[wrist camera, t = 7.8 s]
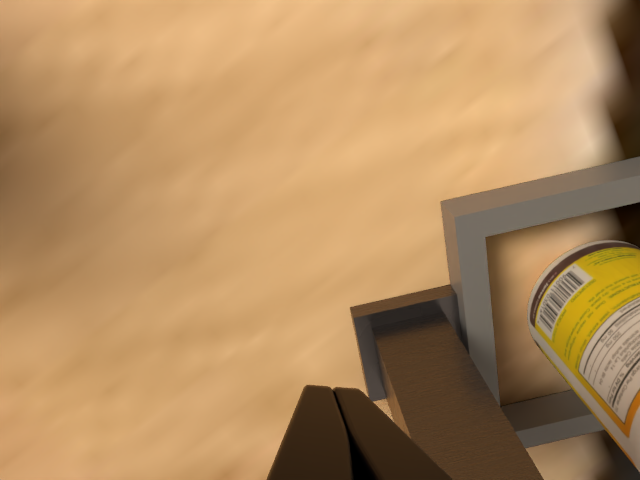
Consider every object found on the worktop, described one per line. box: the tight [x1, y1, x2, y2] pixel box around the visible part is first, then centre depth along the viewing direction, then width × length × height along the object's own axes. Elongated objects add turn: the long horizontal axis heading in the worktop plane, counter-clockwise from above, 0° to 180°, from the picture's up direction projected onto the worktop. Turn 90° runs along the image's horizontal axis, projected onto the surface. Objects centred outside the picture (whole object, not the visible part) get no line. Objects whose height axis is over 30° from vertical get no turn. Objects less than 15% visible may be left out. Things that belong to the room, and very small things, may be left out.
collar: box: [441, 157, 640, 448], centre depth 23 cm, size 11×11×2 cm
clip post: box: [350, 285, 544, 480], centre depth 19 cm, size 4×4×12 cm
